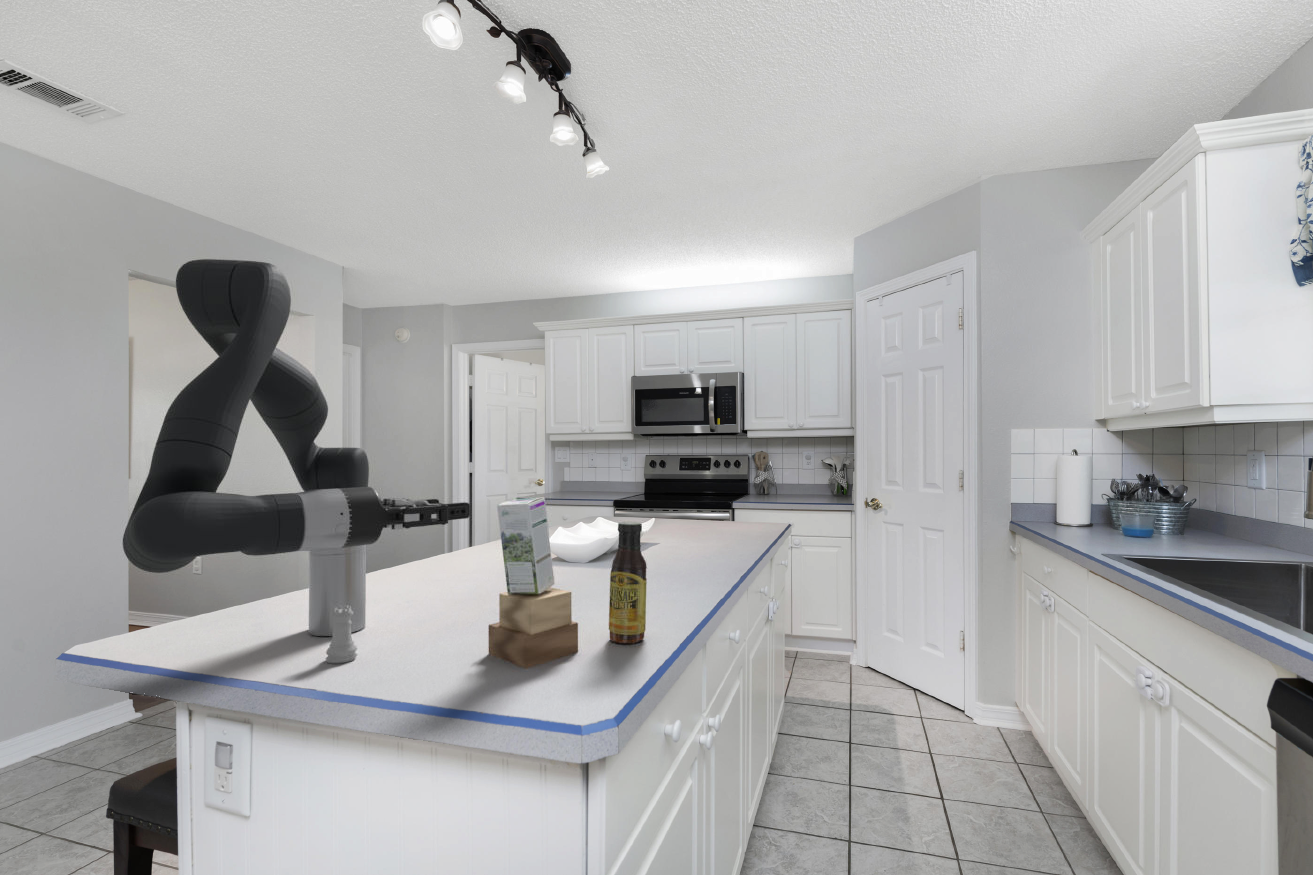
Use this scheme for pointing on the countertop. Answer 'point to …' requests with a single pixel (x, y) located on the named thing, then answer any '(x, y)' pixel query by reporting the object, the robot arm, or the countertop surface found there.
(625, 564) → the sauce bottle
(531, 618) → the upper block
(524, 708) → the countertop surface
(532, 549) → the syrup box
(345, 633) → the rook chess piece
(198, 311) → the robot arm
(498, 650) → the lower block
